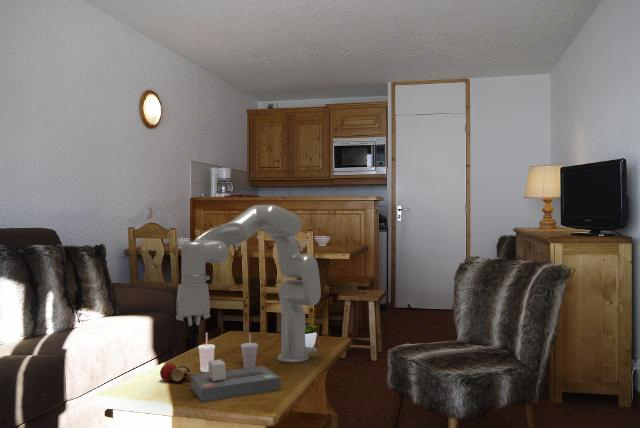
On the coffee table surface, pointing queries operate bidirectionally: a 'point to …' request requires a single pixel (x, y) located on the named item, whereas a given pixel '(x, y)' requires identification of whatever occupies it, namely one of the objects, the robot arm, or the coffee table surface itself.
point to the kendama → (176, 372)
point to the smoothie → (249, 353)
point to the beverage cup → (206, 355)
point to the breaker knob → (217, 370)
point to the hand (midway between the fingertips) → (193, 337)
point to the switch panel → (235, 383)
